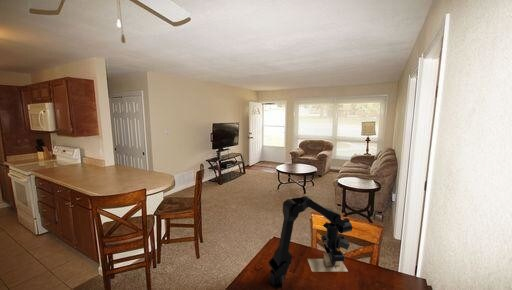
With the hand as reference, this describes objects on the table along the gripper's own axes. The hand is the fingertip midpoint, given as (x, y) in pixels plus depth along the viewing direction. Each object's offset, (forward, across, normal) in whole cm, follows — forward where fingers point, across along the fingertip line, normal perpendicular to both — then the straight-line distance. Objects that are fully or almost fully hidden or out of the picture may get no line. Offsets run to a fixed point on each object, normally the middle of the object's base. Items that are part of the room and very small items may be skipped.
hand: (331, 262), depth 114 cm
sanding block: (+1, 0, 0) cm, 1 cm away
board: (+2, 0, +3) cm, 3 cm away
